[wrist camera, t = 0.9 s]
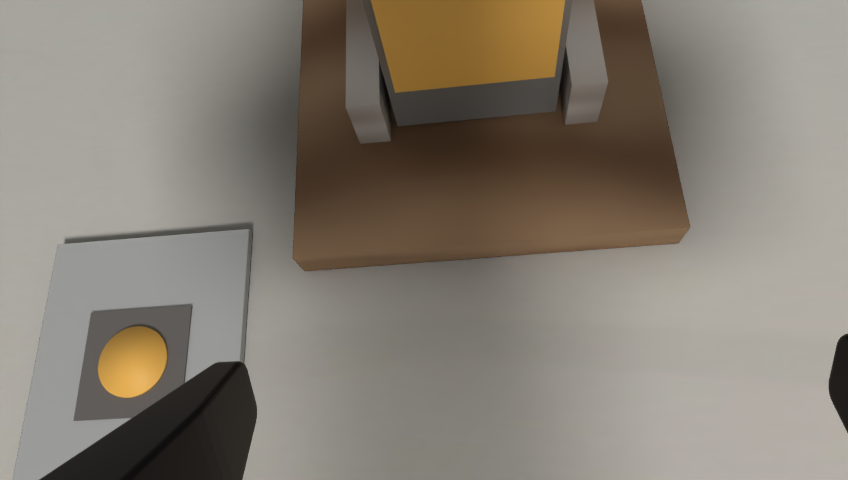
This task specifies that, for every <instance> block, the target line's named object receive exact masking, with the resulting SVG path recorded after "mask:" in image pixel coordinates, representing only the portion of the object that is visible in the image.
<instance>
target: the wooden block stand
mask: <svg viewBox="0 0 848 480" xmlns="http://www.w3.org/2000/svg"><path fill="white" fill-rule="evenodd" d="M689 228H690V224H689V220H688V215H687V210H686V206H685V201H684V197H683V192H682V187H681V183H680V178H679V173H678V169H677V164H676V159H675V155H674V150H673V145H672V141H671V136H670V132H669V127H668V122H667V118H666V113H665V108H664V104H663V99H662V94H661V90H660V85H659V80H658V76H657V71H656V67H655V62H654V57H653V53H652V48H651V43H650V39H649V34H648V29H647V25H646V20H645V15H644V11H643V6H642V2H641V0H573V1H572V7H571V14H570V20H569V27H568V33H567V40H566V47H565V53H564V60H563V66H562V73H561V79H560V86H559V92H558V99H557V105H556V111H555V112H544V113H534V114H523V115H513V116H502V117H491V118H481V119H470V120H460V121H449V122H439V123H428V124H418V125H407V126H397V122H396V119H395V115H394V112H393V108H392V105H391V101H390V98H389V94H388V90H387V87H386V83H385V80H384V76H383V73H382V69H381V66H380V62H379V58H378V55H377V51H376V48H375V44H374V41H373V37H372V33H371V30H370V26H369V23H368V19H367V16H366V12H365V9H364V5H363V1H362V0H303V20H302V45H301V69H300V93H299V118H298V142H297V167H296V191H295V215H294V240H293V259H294V260H295V261H296V262H297V263H298V264H299V266H300V267H301V268H302V269H303V270H304V271H315V270H328V269H341V268H355V267H368V266H381V265H395V264H408V263H421V262H435V261H448V260H461V259H475V258H488V257H501V256H515V255H528V254H541V253H555V252H568V251H581V250H595V249H608V248H621V247H635V246H648V245H661V244H675V243H679V242H680V240H681V239H682V238H683V236H684V235H685V234H686V232H687V231H688V230H689Z"/></svg>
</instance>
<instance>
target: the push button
mask: <svg viewBox="0 0 848 480" xmlns="http://www.w3.org/2000/svg"><path fill="white" fill-rule="evenodd" d="M362 1H363V5H364V9H365V12H366V16H367V19H368V23H369V26H370V30H371V33H372V37H373V41H374V44H375V48H376V51H377V55H378V58H379V62H380V66H381V69H382V73H383V76H384V80H385V83H386V87H387V90H388V94H389V98H390V101H391V105H392V108H393V112H394V115H395V119H396V122H397V126H407V125H418V124H428V123H439V122H449V121H460V120H470V119H481V118H491V117H502V116H513V115H523V114H534V113H544V112H555V111H556V105H557V99H558V92H559V86H560V79H561V73H562V66H563V60H564V53H565V47H566V40H567V33H568V27H569V20H570V14H571V7H572V1H573V0H362Z"/></svg>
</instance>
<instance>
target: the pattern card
mask: <svg viewBox="0 0 848 480" xmlns="http://www.w3.org/2000/svg"><path fill="white" fill-rule="evenodd" d="M252 236H253V232H252V231H251V230H250V229H241V230H228V231H216V232H204V233H192V234H180V235H167V236H155V237H143V238H131V239H118V240H106V241H94V242H82V243H70V244H58V245H57V250H56V255H55V260H54V266H53V271H52V276H51V281H50V286H49V292H48V297H47V302H46V307H45V312H44V318H43V323H42V328H41V333H40V338H39V344H38V349H37V354H36V359H35V364H34V370H33V375H32V380H31V385H30V391H29V396H28V401H27V406H26V411H25V417H24V422H23V427H22V432H21V437H20V443H19V448H18V453H17V458H16V463H15V469H14V474H13V479H12V480H39V479H41V478H42V477H44V476H45V475H47V474H48V473H50V472H51V471H53V470H54V469H56V468H57V467H59V466H60V465H62V464H63V463H65V462H66V461H68V460H69V459H71V458H72V457H74V456H75V455H77V454H78V453H80V452H81V451H83V450H84V449H86V448H87V447H89V446H90V445H92V444H93V443H95V442H96V441H98V440H99V439H101V438H102V437H104V436H105V435H107V434H108V433H110V432H111V431H113V430H114V429H116V428H117V427H119V426H121V425H122V424H124V423H125V422H127V421H128V420H130V419H131V418H133V417H134V416H136V415H137V414H139V413H140V412H142V411H143V410H145V409H146V408H148V407H149V406H151V405H152V404H154V403H155V402H157V401H158V400H160V399H161V398H163V397H164V396H166V395H167V394H169V393H170V392H172V391H173V390H175V389H176V388H178V387H179V386H181V385H182V384H184V383H185V382H187V381H188V380H190V379H191V378H193V377H194V376H196V375H197V374H199V373H200V372H202V371H203V370H205V369H206V368H208V367H209V366H211V365H212V364H214V363H216V362H228V361H241V362H242V363H244V354H245V339H246V324H247V310H248V295H249V280H250V265H251V250H252Z"/></svg>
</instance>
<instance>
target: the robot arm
mask: <svg viewBox="0 0 848 480" xmlns="http://www.w3.org/2000/svg"><path fill="white" fill-rule="evenodd" d="M829 394H830V397H831V400H832V402H833V404H834V406H835V408H836V410H837V412H838V414H839V416H840V418H841V420H842V423H843V425H844V427H845V429H846V431H847V433H848V334H845V335H843V336H842V337H840V339H839V340H838V343H837V346H836V351H835V355H834V360H833V365H832V369H831V374H830V378H829ZM256 419H257V406H256V401H255V397H254V393H253V390H252V386H251V382H250V378H249V374H248V370H247V368H246V366H245V364H244V363H242V362H241V361H228V362H216V363H214V364H212V365H211V366H209V367H208V368H206V369H205V370H203V371H202V372H200V373H199V374H197V375H196V376H194V377H193V378H191V379H190V380H188V381H187V382H185V383H184V384H182V385H181V386H179V387H178V388H176V389H175V390H173V391H172V392H170V393H169V394H167V395H166V396H164V397H163V398H161V399H160V400H158V401H157V402H155V403H154V404H152V405H151V406H149V407H148V408H146V409H145V410H143V411H142V412H140V413H139V414H137V415H136V416H134V417H133V418H131V419H130V420H128V421H127V422H125V423H124V424H122V425H121V426H119V427H117V428H116V429H114V430H113V431H111V432H110V433H108V434H107V435H105V436H104V437H102V438H101V439H99V440H98V441H96V442H95V443H93V444H92V445H90V446H89V447H87V448H86V449H84V450H83V451H81V452H80V453H78V454H77V455H75V456H74V457H72V458H71V459H69V460H68V461H66V462H65V463H63V464H62V465H60V466H59V467H57V468H56V469H54V470H53V471H51V472H50V473H48V474H47V475H45V476H44V477H42V478H41V479H39V480H242V479H243V474H244V470H245V466H246V462H247V458H248V453H249V449H250V445H251V441H252V436H253V432H254V428H255V424H256Z"/></svg>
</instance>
